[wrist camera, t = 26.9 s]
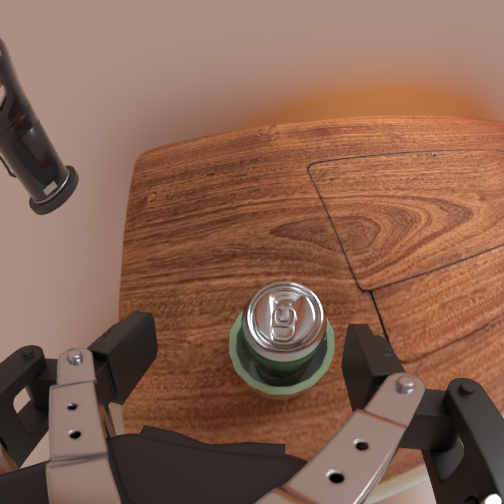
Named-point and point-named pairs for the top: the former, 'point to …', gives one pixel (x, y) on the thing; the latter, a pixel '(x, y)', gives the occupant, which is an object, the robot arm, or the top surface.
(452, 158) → the top surface
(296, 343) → the soda can
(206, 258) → the top surface
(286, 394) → the can holder
